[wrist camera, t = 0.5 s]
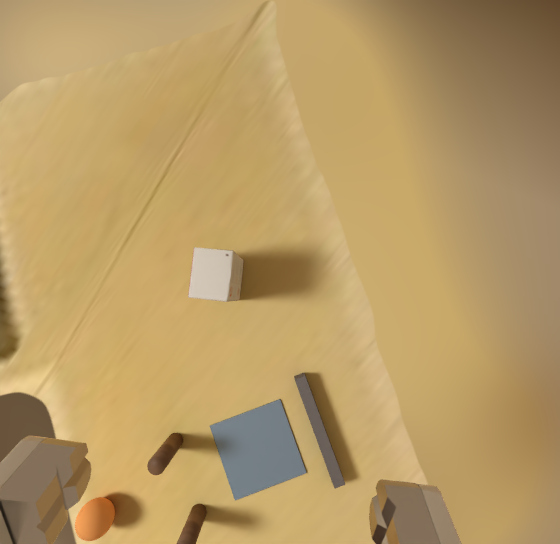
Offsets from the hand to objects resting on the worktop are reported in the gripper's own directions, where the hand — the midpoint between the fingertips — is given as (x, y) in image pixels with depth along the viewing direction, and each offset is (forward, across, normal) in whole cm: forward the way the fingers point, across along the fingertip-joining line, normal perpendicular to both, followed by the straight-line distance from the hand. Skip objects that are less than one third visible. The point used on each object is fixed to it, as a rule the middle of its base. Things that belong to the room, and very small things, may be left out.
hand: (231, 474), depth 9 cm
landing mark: (+36, 0, -45) cm, 57 cm away
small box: (+50, -10, -18) cm, 54 cm away
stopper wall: (+38, +11, -40) cm, 56 cm away
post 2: (+30, -9, -56) cm, 64 cm away
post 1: (+36, -15, -45) cm, 60 cm away
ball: (+27, -26, -56) cm, 67 cm away
